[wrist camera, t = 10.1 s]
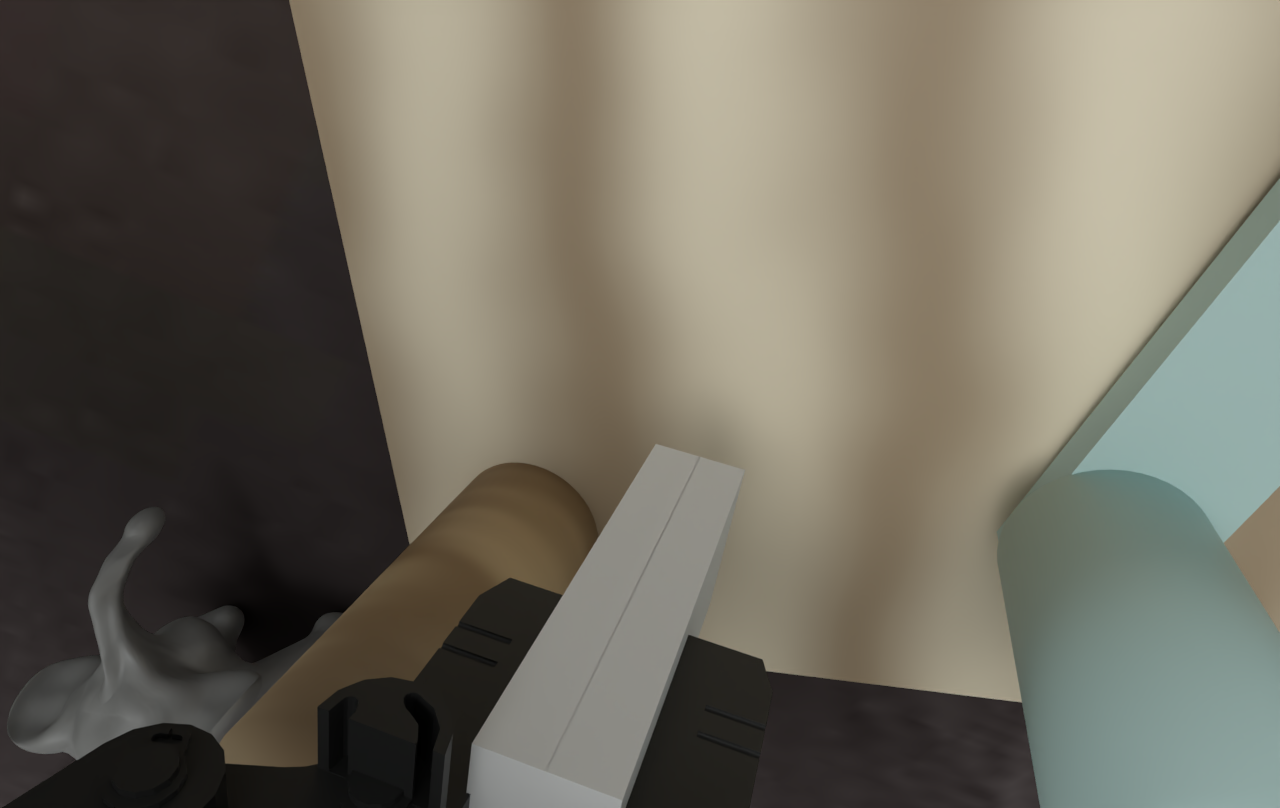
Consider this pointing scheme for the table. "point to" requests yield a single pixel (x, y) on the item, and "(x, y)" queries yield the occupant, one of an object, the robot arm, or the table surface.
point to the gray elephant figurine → (146, 668)
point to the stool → (764, 294)
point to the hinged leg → (1159, 563)
